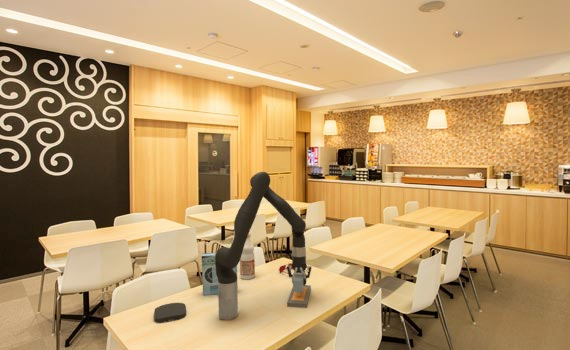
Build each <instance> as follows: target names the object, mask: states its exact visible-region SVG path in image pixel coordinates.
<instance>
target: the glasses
mask: <svg viewBox="0 0 570 350" xmlns="http://www.w3.org/2000/svg"><path fill="white" fill-rule="evenodd" d="M288 265H289V266H290V265H292V262H291V263H290V262H289V263H288V264H283V265H281V266H279V268H278V272H279V273H280V274H282V273H285V274H288V272H287V271H285V270H287V266H288ZM291 269H292V270H293V268H292V267H291ZM305 272H306V273H308V270H307V269H305Z"/></svg>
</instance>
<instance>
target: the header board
mask: <svg viewBox="0 0 570 350" xmlns="http://www.w3.org/2000/svg"><path fill="white" fill-rule="evenodd" d="M311 287H312V286H311V285H310V284H305V286H304V288H303V292H293V287H292V288H291V291H290V294H289V297H288V298H287V302H286V307H290V308H303V309H305V308H306V309H307V308H308V303H309V298H310V295H311V294H310V293H311V290H312V289H311Z"/></svg>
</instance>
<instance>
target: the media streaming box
mask: <svg viewBox="0 0 570 350" xmlns="http://www.w3.org/2000/svg"><path fill="white" fill-rule="evenodd" d="M153 313H154V322H156V323H160V324H161V323H167V322H172V321H173V322H174V321H177V320H182V319H185V317H187V306H186V304H185V303H183V302H171V303H165V304H162V305H159V306H157V307H155V308H154V312H153Z"/></svg>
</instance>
